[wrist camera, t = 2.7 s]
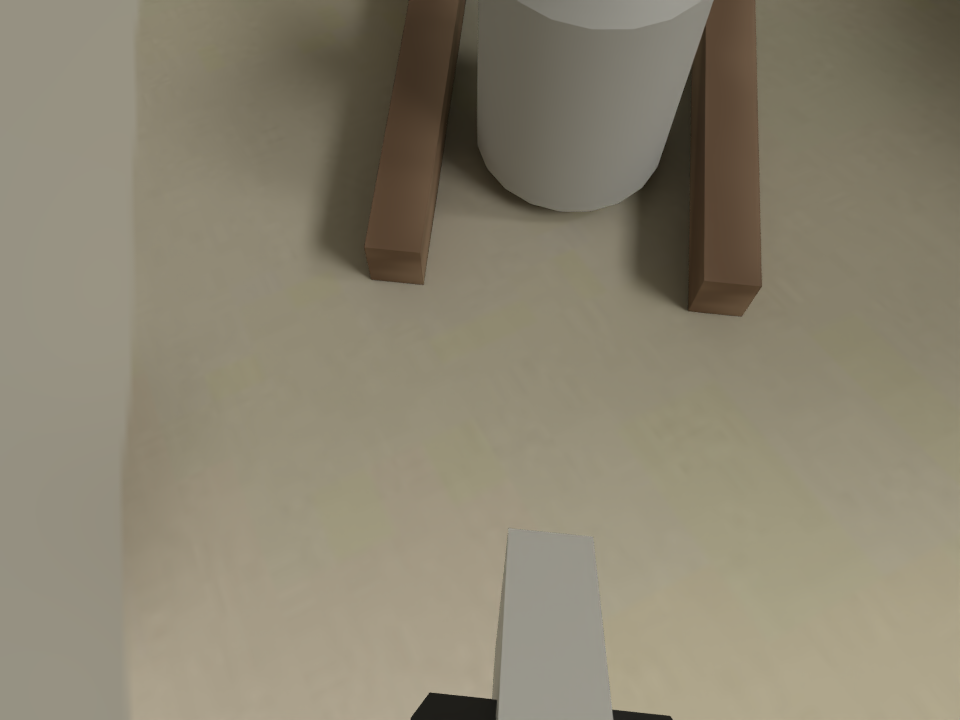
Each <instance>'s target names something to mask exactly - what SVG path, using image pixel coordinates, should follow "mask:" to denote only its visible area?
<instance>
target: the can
mask: <svg viewBox="0 0 960 720" xmlns="http://www.w3.org/2000/svg"><path fill="white" fill-rule="evenodd" d="M713 1H714V0H478V73H477V145H478V148H479V150H480V153H481V155H482V157H483V160H484V162H485V165H486V167H487V169H488V170H489V171H490V172H491V173H492V174H493V176H494V177H495V178H496V179H497V180H498V181H499V182H500V183H501V184H502V186H503V187H504V188H505V189H507V190H508V191H510V192H512V193H513V194H515V195H517V196H518V197H520V198H522V199H523V200H525V201H527V202H528V203H530V204H533V205H537V206H541V207H545V208H548V209H552V210H556V211H560V212H572V211H594V210H597V209H600V208H604V207H607V206H611V205H614V204H618V203H620V202H621V201H623V200H624V199H626V198H627V197H629V196H630V195H632V194H633V193H635V192H636V191H638V190H639V189H641V188H642V187H643V186H644V184H645V183H646V182H647V180H648V179H649V178H650V176H651V175H652V174H653V172H654V171H655V170H656V168H657V167H658V164H659V161H660V158H661V155H662V152H663V149H664V146H665V143H666V140H667V137H668V134H669V131H670V128H671V125H672V122H673V119H674V116H675V113H676V110H677V108H678V105H679V102H680V99H681V96H682V93H683V90H684V87H685V84H686V81H687V78H688V75H689V72H690V69H691V66H692V63H693V60H694V57H695V54H696V51H697V48H698V45H699V42H700V39H701V36H702V33H703V30H704V27H705V24H706V21H707V18H708V16H709V13H710V10H711V7H712V4H713Z"/></svg>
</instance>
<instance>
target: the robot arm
mask: <svg viewBox="0 0 960 720" xmlns="http://www.w3.org/2000/svg"><path fill="white" fill-rule="evenodd" d="M411 720H673V719H672V718H671V717H670V716H666V715H656V714H647V713H637V712H628V711H619V710H612V704H611V695H610V686H609V677H608V668H607V658H606V649H605V640H604V631H603V622H602V613H601V604H600V594H599V585H598V576H597V567H596V558H595V549H594V540H593V537H592V536H582V535H572V534H562V533H552V532H543V531H533V530H523V529H513V528H508V537H507V546H506V555H505V565H504V574H503V583H502V593H501V602H500V611H499V620H498V630H497V639H496V648H495V662H494V677H493V693H492V699H485V698H476V697H467V696H457V695H448V694H439V693H429V694H428V696H427V697H426V698H425V700H424V701H423V702H422V704H421V705H420V706H419V708H418V709H417V710H416V712H415V713H414V714H413V716H412V717H411Z"/></svg>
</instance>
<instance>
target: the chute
mask: <svg viewBox="0 0 960 720" xmlns="http://www.w3.org/2000/svg"><path fill="white" fill-rule="evenodd" d="M465 3H466V0H409V4H408V9H407V15H406V20H405V26H404V31H403V37H402V42H401V48H400V53H399V59H398V64H397V69H396V75H395V80H394V86H393V91H392V97H391V102H390V108H389V113H388V119H387V124H386V130H385V135H384V141H383V146H382V152H381V157H380V163H379V168H378V174H377V179H376V185H375V190H374V196H373V201H372V207H371V212H370V218H369V223H368V229H367V234H366V240H365V245H364V249H365V254H366V258H367V263H368V267H369V272H370V276H371V279H372V280H382V281H392V282H402V283H412V284H422V285H424V278H425V272H426V265H427V258H428V252H429V245H430V238H431V231H432V225H433V218H434V211H435V204H436V198H437V191H438V184H439V177H440V171H441V164H442V157H443V151H444V144H445V137H446V130H447V124H448V117H449V110H450V103H451V97H452V90H453V83H454V77H455V70H456V63H457V56H458V50H459V43H460V36H461V29H462V23H463V16H464V9H465ZM761 287H762V275H761V232H760V188H759V145H758V101H757V58H756V14H755V0H714V1H713V4H712V7H711V10H710V13H709V16H708V18H707V21H706V24H705V27H704V30H703V33H702V36H701V39H700V42H699V45H698V48H697V51H696V54H695V57H694V60H693V63H692V81H691V151H690V222H689V293H688V311H692V312H702V313H712V314H722V315H732V316H742V315H743V314H744V312H745V311H746V309H747V308H748V306H749V305H750V303H751V302H752V300H753V299H754V297H755V296H756V294H757V293H758V291H759V290H760V288H761Z"/></svg>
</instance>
